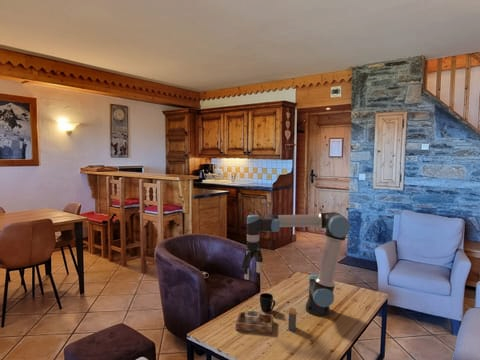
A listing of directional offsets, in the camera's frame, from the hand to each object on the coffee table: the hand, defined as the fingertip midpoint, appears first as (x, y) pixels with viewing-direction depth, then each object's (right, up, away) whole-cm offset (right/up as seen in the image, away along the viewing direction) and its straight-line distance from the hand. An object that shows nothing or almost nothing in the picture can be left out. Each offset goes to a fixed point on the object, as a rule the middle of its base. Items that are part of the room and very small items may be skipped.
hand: (252, 275), depth 195 cm
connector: (+22, -27, -12) cm, 36 cm away
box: (+1, -26, -9) cm, 28 cm away
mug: (+10, -25, +9) cm, 28 cm away
